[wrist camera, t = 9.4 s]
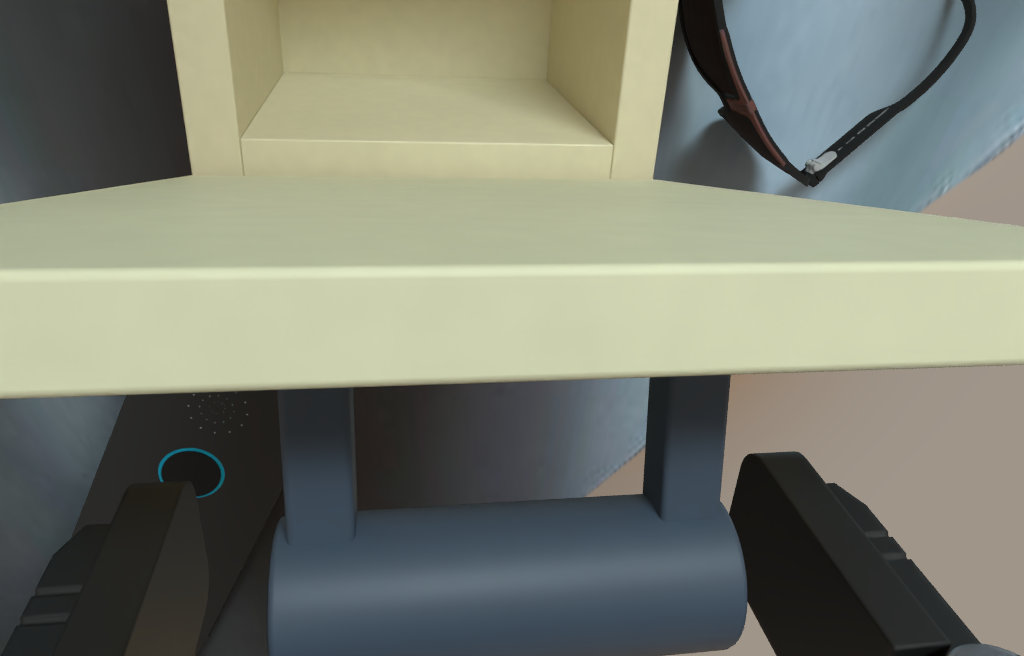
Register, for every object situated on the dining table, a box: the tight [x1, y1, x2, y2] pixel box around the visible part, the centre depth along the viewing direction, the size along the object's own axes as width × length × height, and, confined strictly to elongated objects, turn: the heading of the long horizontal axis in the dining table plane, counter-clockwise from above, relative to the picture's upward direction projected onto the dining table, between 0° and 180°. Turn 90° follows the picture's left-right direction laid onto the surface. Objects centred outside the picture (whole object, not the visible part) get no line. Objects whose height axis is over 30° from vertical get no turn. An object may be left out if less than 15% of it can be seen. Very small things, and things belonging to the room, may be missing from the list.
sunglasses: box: [678, 0, 976, 187], centre depth 30 cm, size 11×12×5 cm
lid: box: [0, 175, 1024, 656], centre depth 13 cm, size 16×13×5 cm
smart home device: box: [71, 390, 283, 656], centre depth 38 cm, size 8×2×20 cm
